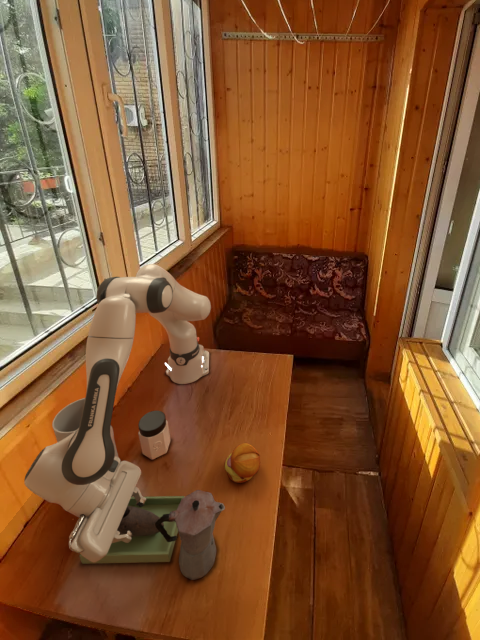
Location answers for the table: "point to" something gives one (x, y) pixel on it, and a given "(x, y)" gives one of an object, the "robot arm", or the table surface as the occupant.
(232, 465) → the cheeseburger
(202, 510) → the moka pot
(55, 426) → the cylinder vase
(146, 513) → the perforated stone tool
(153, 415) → the jar
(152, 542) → the tray
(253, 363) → the table surface
